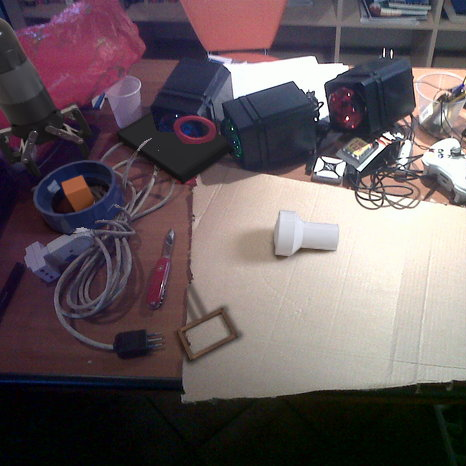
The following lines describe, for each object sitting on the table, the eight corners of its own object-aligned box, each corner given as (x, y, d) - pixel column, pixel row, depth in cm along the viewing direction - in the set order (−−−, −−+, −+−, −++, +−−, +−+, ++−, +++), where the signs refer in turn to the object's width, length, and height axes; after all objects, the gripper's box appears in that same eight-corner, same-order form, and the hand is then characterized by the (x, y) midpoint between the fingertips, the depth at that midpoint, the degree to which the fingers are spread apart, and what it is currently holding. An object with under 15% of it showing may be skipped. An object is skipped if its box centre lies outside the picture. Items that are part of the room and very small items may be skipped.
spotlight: (273, 223, 91) (277, 200, 84) (333, 228, 92) (342, 206, 85) (271, 262, 87) (275, 241, 80) (333, 267, 88) (342, 247, 81)
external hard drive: (184, 187, 100) (181, 176, 98) (120, 142, 111) (116, 132, 109) (235, 151, 107) (232, 141, 105) (170, 113, 117) (166, 102, 115)
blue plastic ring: (56, 248, 91) (41, 228, 87) (41, 199, 100) (27, 178, 95) (134, 216, 96) (124, 195, 91) (114, 172, 104) (103, 150, 100)
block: (78, 216, 96) (65, 195, 91) (74, 204, 98) (61, 182, 93) (98, 208, 97) (86, 186, 92) (93, 196, 99) (81, 174, 95)
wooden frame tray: (192, 364, 75) (190, 360, 74) (157, 286, 85) (154, 281, 83) (239, 339, 77) (238, 335, 76) (199, 266, 87) (197, 261, 86)
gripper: (59, 64, 81) (96, 141, 93) (-33, 91, 77) (19, 168, 89) (68, 85, 77) (106, 163, 89) (-28, 115, 73) (25, 192, 85)
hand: (62, 165), depth 89 cm, fingers open, 8 cm apart
